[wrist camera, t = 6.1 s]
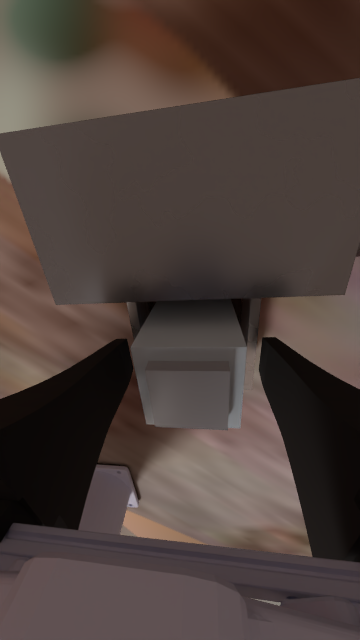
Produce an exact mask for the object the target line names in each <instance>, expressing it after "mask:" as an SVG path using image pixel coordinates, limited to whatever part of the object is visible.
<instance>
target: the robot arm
mask: <svg viewBox="0 0 360 640" xmlns="http://www.w3.org/2000/svg"><path fill="white" fill-rule="evenodd" d="M132 372H133V365H132V360H131V356H130V351H129V346H128V342H127V339H116V340H114V341H112V342H110V343H109V344H107V345H105V346H104V347H102V348H101V349H99V350H98V351H96V352H95V353H93V354H91V355H90V356H88V357H87V358H85V359H84V360H82V361H80V362H79V363H77V364H75V365H74V366H72V367H70V368H69V369H67V370H65V371H63V372H61V373H59V374H57V375H55V376H53V377H51V378H49V379H47V380H45V381H43V382H41V383H39V384H36V385H34V386H32V387H29V388H27V389H25V390H23V391H20V392H18V393H15V394H12V395H10V396H7V397H5V398H2V399H0V640H360V389H358V388H356V387H354V386H352V385H350V384H348V383H346V382H344V381H342V380H340V379H338V378H337V377H335V376H333V375H331V374H330V373H328V372H326V371H325V370H323V369H321V368H320V367H318V366H316V365H315V364H313V363H312V362H310V361H309V360H307V359H306V358H304V357H303V356H301V355H300V354H298V353H297V352H296V351H294V350H293V349H291V348H290V347H289V346H287V345H286V344H284V343H283V342H282V341H280V340H279V339H277V338H275V337H263V338H262V347H261V355H260V364H259V372H260V376H261V381H262V384H263V388H264V391H265V393H266V396H267V398H268V401H269V403H270V406H271V408H272V411H273V413H274V416H275V419H276V421H277V424H278V426H279V429H280V432H281V434H282V437H283V441H284V444H285V448H286V451H287V455H288V458H289V462H290V465H291V469H292V473H293V477H294V480H295V484H296V488H297V492H298V496H299V500H300V504H301V508H302V512H303V516H304V521H305V525H306V529H307V534H308V538H309V543H310V547H311V551H312V556H313V557H307V556H298V555H290V554H281V553H272V552H264V551H255V550H246V549H237V548H229V547H220V546H211V545H203V544H194V543H185V542H177V541H167V540H159V539H150V538H141V537H133V536H124V535H120V532H121V528H122V524H123V521H124V517H125V513H126V509H127V507H138V506H139V500H138V497H137V494H136V491H135V488H134V485H133V481H132V478H131V475H130V472H129V469H128V468H127V467H125V466H112V465H98V464H97V461H98V458H99V455H100V452H101V449H102V446H103V443H104V440H105V437H106V435H107V432H108V429H109V427H110V424H111V422H112V420H113V417H114V415H115V413H116V411H117V409H118V407H119V405H120V402H121V400H122V398H123V396H124V394H125V391H126V389H127V387H128V385H129V382H130V379H131V375H132ZM251 598H253V599H251ZM255 599H261V600H268V601H274V602H281V605H280V606H278V605H274V604H270V603H266V602H262V601H258V600H255Z"/></svg>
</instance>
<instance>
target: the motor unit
mask: <svg viewBox="0 0 360 640" xmlns="http://www.w3.org/2000/svg"><path fill="white" fill-rule="evenodd" d="M0 152H1V155H2V158H3V160H4V163H5V166H6V169H7V171H8V174H9V177H10V180H11V183H12V185H13V188H14V191H15V194H16V196H17V199H18V202H19V205H20V207H21V210H22V213H23V216H24V218H25V221H26V224H27V227H28V229H29V232H30V235H31V238H32V240H33V243H34V246H35V249H36V251H37V254H38V257H39V260H40V263H41V265H42V268H43V271H44V274H45V276H46V279H47V282H48V285H49V287H50V290H51V293H52V296H53V298H54V301H55V304H56V305H63V304H92V303H121V302H127V307H128V312H129V317H130V322H131V327H132V332H133V337H134V340H135V338H136V337H137V335H138V333H139V331H140V329H141V328H142V326H143V324H144V322H145V321H146V319H147V317H148V315H149V314H150V305H149V302H150V301H179V300H208V299H237V298H242V303H241V320H240V328H241V331H242V334H243V337H244V340H245V343H246V346H247V352H246V364H245V377H244V389H243V390H252V385H253V375H254V365H255V355H256V345H257V335H258V326H259V316H260V306H261V298H266V297H295V296H324V295H345V292H346V288H347V285H348V281H349V278H350V274H351V271H352V267H353V264H354V260H355V257H359V256H360V78H355V79H349V80H343V81H336V82H330V83H323V84H317V85H310V86H304V87H297V88H291V89H284V90H278V91H272V92H265V93H259V94H252V95H246V96H239V97H233V98H226V99H220V100H214V101H207V102H201V103H195V104H188V105H181V106H175V107H169V108H162V109H156V110H150V111H143V112H136V113H130V114H123V115H117V116H110V117H104V118H97V119H91V120H85V121H79V122H72V123H65V124H59V125H52V126H46V127H39V128H33V129H26V130H20V131H13V132H7V133H1V134H0Z"/></svg>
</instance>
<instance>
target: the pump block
mask: <svg viewBox="0 0 360 640" xmlns="http://www.w3.org/2000/svg"><path fill="white" fill-rule="evenodd" d="M130 348H131V353H132V358H133V363H134V368H135V372H136V377H137V382H138V387H139V391H140V396H141V401H142V406H143V411H144V415H145V420H146V424H154V425H155V427H169V428H191V429H213V430H228V428H240V425H241V413H242V401H243V389H244V377H245V364H246V352H247V346H246V343H245V340H244V337H243V334H242V331H241V328H240V325H239V322H238V319H237V316H236V313H235V310H234V307H233V304H232V301H231V299H208V300H179V301H156V303H155V305H154V307H153V308H152V310H151V312H150V314H149V315H148V317H147V319H146V321H145V322H144V324H143V326H142V328H141V329H140V331H139V333H138V335H137V337H136V338H135V340H134V342H133V344H132V345H131V347H130Z"/></svg>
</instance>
